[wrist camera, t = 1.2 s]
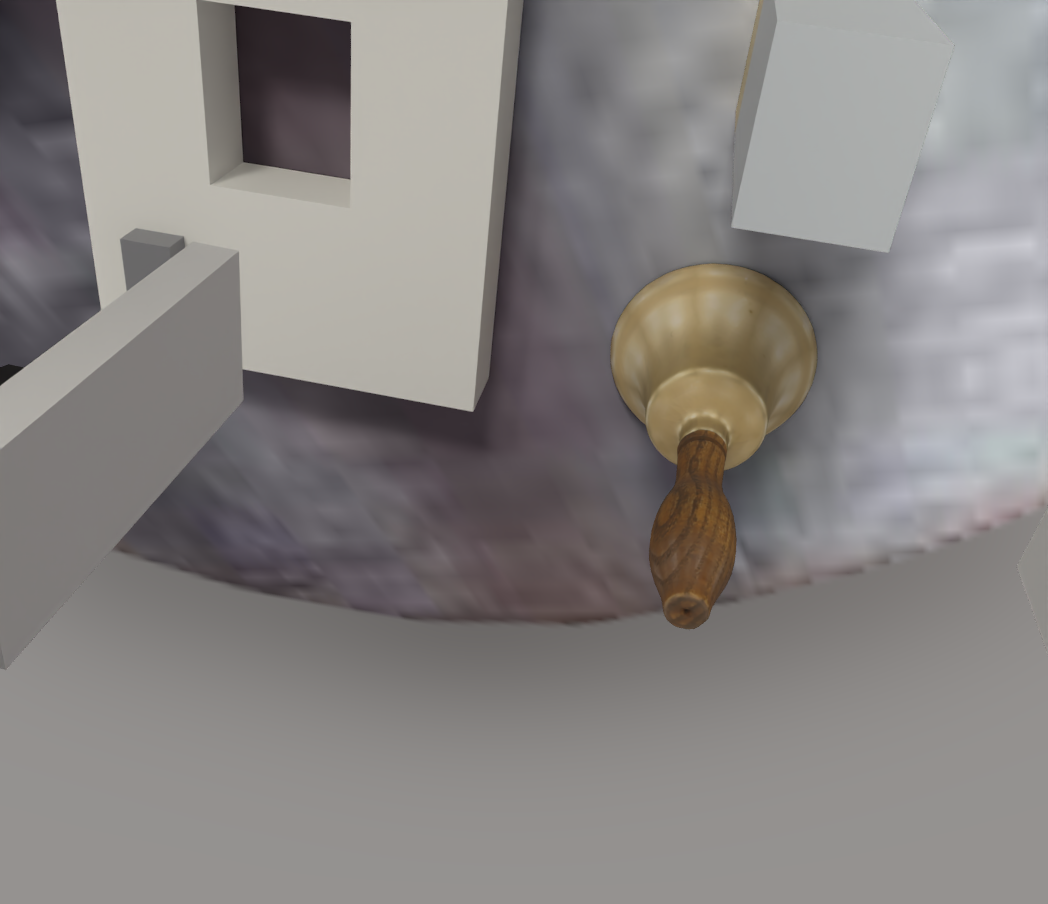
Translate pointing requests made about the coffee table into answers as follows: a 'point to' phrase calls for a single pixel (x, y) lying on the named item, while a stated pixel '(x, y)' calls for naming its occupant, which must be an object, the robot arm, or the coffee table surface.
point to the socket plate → (311, 183)
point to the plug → (834, 117)
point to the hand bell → (708, 408)
